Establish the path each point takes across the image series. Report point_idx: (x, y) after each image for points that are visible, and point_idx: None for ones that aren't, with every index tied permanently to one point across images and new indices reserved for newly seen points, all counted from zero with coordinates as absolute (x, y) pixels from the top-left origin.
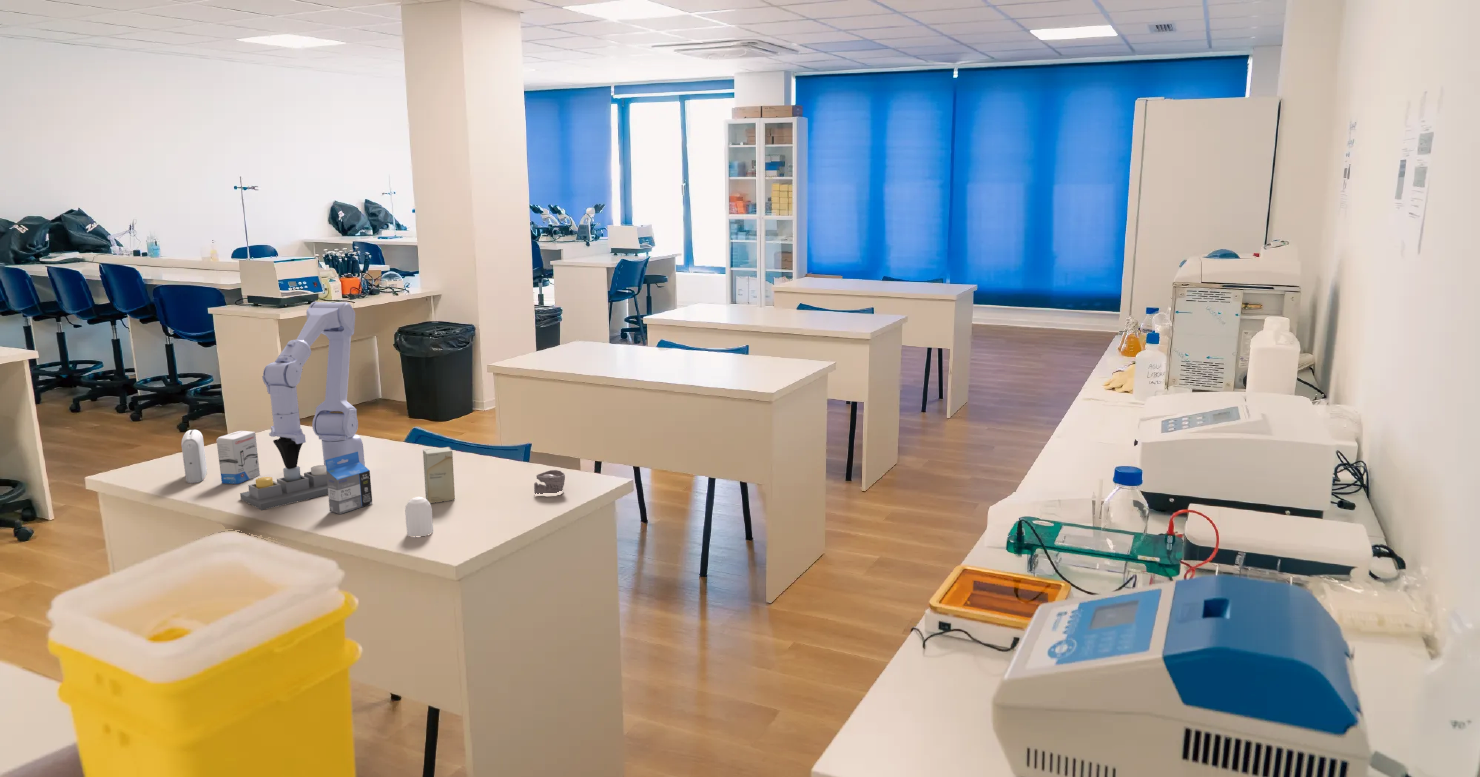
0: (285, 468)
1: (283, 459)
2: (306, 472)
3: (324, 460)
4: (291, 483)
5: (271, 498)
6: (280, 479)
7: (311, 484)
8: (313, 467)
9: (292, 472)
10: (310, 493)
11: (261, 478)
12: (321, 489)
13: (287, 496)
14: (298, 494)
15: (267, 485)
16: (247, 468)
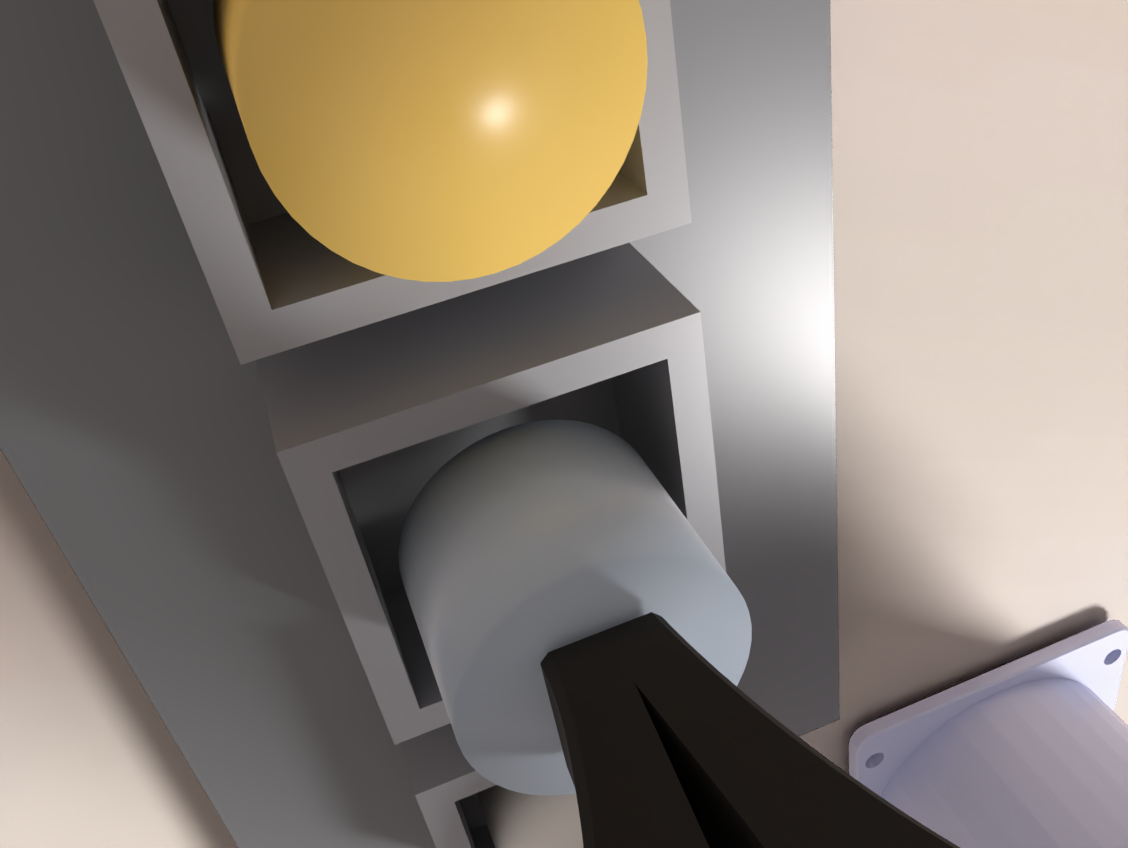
0: (672, 589)
1: (725, 752)
2: None
3: (1096, 780)
4: (307, 517)
5: (33, 67)
6: (621, 369)
7: None
8: None
9: (436, 670)
10: (120, 637)
11: (558, 38)
12: (202, 759)
13: (38, 348)
14: (80, 506)
15: (235, 101)
16: None
